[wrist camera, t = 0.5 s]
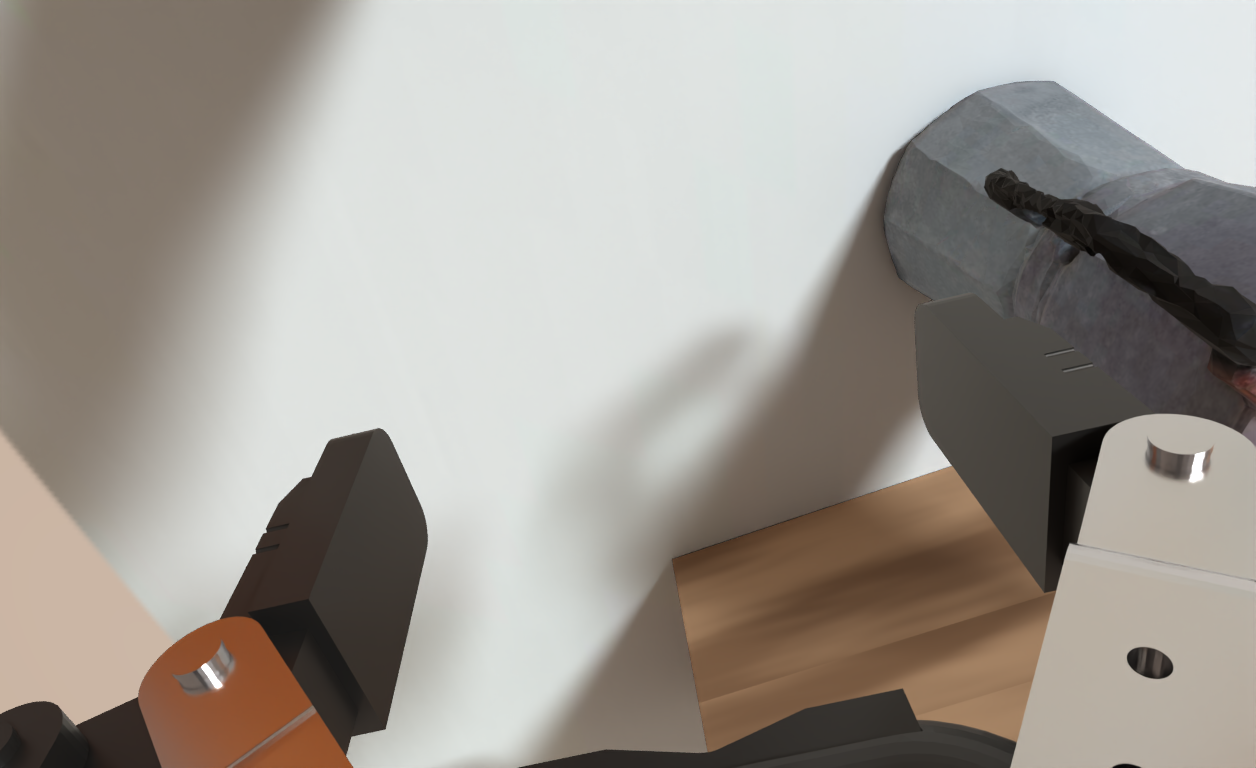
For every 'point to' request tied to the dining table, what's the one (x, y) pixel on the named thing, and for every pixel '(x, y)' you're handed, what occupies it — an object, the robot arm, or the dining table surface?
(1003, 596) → the press housing
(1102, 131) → the moka pot
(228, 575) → the dining table surface
